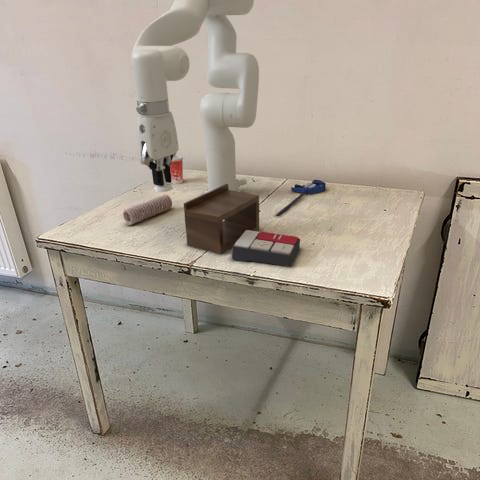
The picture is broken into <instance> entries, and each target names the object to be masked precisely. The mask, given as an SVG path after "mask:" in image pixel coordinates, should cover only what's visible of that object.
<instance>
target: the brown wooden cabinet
mask: <svg viewBox="0 0 480 480" xmlns="http://www.w3.org/2000/svg"><path fill="white" fill-rule="evenodd" d="M183 213H184V224H185V225H184V226H185V235H186V238H185V239H186V245H187V246H188V247H192V248H195V249H199V250H203V251H207V252H210V253H213V254H214V253H215V254H219V255H222V254H223V253H225V252H226V251H228V250H229V249H232V246H233V245H234V243H235V242H236V241H237V240H238V238H239V237H240V236H241V235H242V233H243V232H244V231H246V230H250V231H257V232H259V231H260V194H259V195H258V194H253V193H248V192H242V191H241V192H238V191H232V190H228V184H225V185H222V186H220V187H218V188H216V189H214V190H211V191H209V192H207V193H205V194H204V193H202V194H201V195H198V196H196V197H194V198H192V199H189V200H187V201H185V202H183Z"/></svg>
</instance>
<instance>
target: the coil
mask: <svg viewBox="0 0 480 480" xmlns="http://www.w3.org/2000/svg"><path fill="white" fill-rule="evenodd" d="M172 207H173V200H172V198H171V197H170V195H169V194H163V195H161V196H157V197H154V198H152V199H150V200H147V201H144V202H142V203H139V204H137V205H133V206H132V207H128V208H126V209H124V210H123V211H122V216H123V219H124V221H125V222H126V226H132V225H134V224H137V223H139V222H143V221H145V220H147V219H150V218H152V217H154V216H156V215H158V214H161V213H164V212H166V211H169V210H170V209H171V210H172Z"/></svg>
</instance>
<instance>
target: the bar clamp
mask: <svg viewBox="0 0 480 480" xmlns="http://www.w3.org/2000/svg"><path fill="white" fill-rule="evenodd" d="M326 185H327V184H326V182H324V181H322V180H321V179H313V180H312V181H311V183H310V182H307V183H306V184H303V185H300V184H297V183H295V184H294V187H293V186H291V187H290V190H291V192H297V193H300V194H299V195H298V196H297V197H295V198H294V199H293V200H292V201H291V202H290V203H288V204H287V205H286V206H285V207H283V209H281V210H280V211H279V212H277V213H276V214H275V216H277V217H279V216H281V215H282V214H283V213H284V212H286V211H287V210H288V209H289V208H291V206H292V205H294V204H296V202H297V201H299V200H300V199H301V198H302V197H303V196H305V195H314V194H318V193H321V192H325V191H326Z"/></svg>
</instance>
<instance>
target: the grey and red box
mask: <svg viewBox="0 0 480 480" xmlns="http://www.w3.org/2000/svg"><path fill="white" fill-rule="evenodd" d="M300 246H301V238H299V237H298V236H294V235H289V234H282V233H275V232H267V231H250V230H246V231H244V232H243V233H242V235H241V236H240V237H239V238H238V240H237V241H236V242H235V243H234V245H233V246H232V247H231V259H232V260H233V261H234V260H235V261H240V262H246V263H247V262H249V261H253V262H259V263H265V264H272V265H277V266H283V267H291V266H292V264H293V263H294V260H295V258H296V256H297V254H298V253H299V250H300Z"/></svg>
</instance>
